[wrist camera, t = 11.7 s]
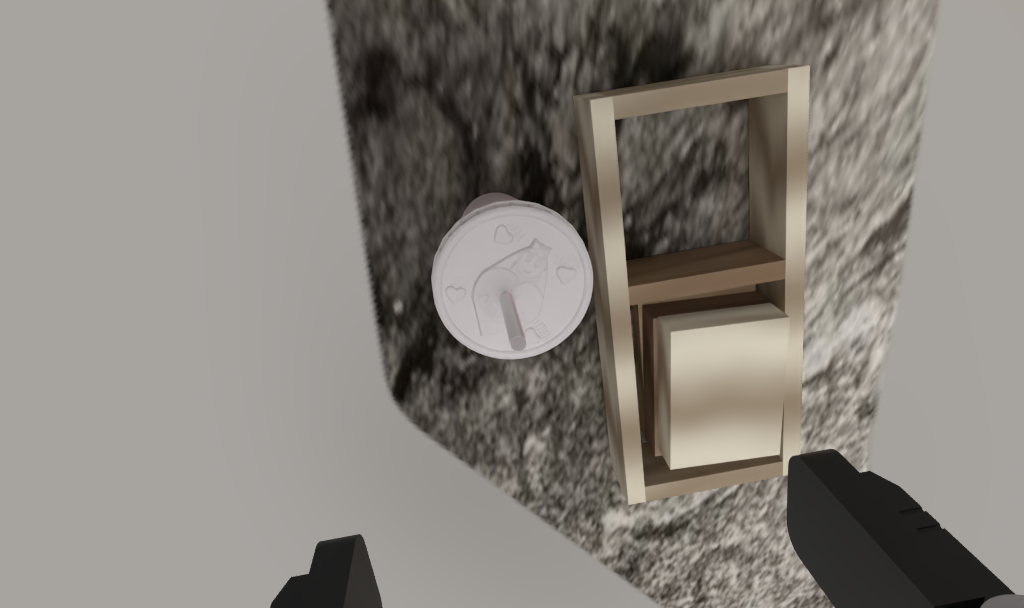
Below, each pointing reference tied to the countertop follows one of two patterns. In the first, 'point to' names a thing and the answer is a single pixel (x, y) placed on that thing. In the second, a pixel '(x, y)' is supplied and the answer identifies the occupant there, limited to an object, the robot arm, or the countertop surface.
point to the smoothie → (511, 278)
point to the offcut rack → (698, 257)
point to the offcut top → (721, 384)
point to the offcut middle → (651, 346)
